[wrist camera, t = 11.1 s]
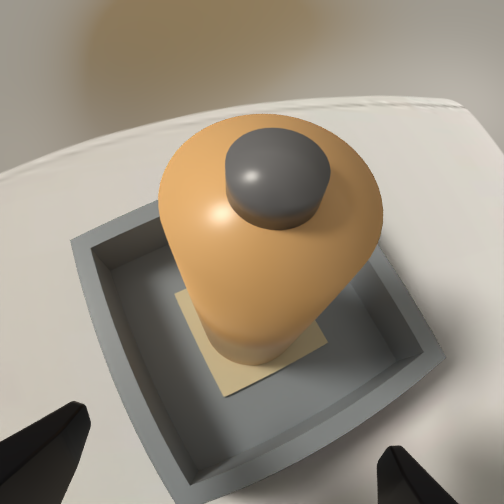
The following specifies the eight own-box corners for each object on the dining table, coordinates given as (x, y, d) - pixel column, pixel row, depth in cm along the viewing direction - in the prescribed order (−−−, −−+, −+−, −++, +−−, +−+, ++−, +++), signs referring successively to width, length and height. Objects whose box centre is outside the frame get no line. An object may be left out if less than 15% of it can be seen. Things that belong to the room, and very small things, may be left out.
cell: (313, 305, 17) (419, 152, 6) (265, 383, 15) (336, 343, 5) (237, 260, 18) (242, 69, 7) (185, 331, 16) (99, 194, 5)
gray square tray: (409, 367, 17) (446, 357, 13) (192, 488, 14) (180, 511, 10) (293, 185, 22) (303, 145, 18) (97, 269, 19) (70, 240, 15)
